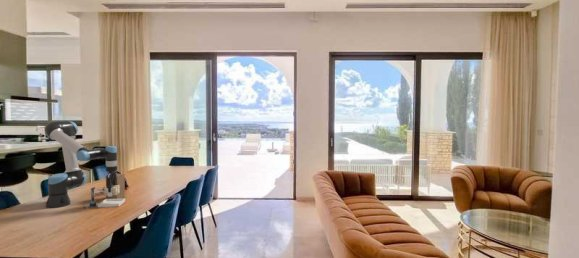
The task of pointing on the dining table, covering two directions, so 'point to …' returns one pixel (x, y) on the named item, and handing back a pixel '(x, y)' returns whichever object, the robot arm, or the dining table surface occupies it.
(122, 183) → the wooden block
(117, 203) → the tray
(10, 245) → the dining table surface
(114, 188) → the collar
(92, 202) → the grey lever faucet
